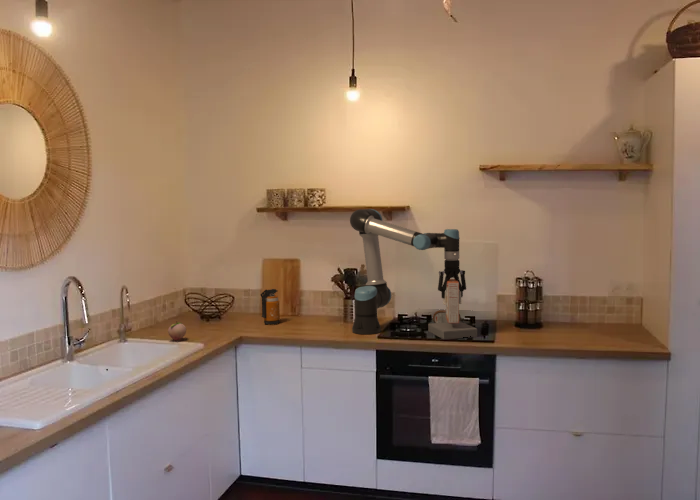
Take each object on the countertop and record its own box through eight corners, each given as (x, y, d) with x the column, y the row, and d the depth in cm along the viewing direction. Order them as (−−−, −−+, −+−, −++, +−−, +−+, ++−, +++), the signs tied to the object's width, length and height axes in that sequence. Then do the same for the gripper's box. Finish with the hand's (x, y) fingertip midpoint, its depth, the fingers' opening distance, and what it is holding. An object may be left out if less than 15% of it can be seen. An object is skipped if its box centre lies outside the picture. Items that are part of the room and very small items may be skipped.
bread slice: (460, 325, 322) (460, 309, 321) (461, 326, 319) (461, 311, 318) (432, 325, 323) (432, 310, 323) (433, 326, 320) (433, 311, 320)
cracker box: (445, 318, 307) (445, 278, 305) (456, 318, 306) (457, 278, 305) (447, 323, 293) (447, 282, 291) (459, 323, 292) (459, 282, 291)
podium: (444, 339, 288) (443, 331, 288) (428, 331, 308) (428, 323, 307) (477, 336, 293) (477, 328, 293) (459, 328, 312) (459, 321, 312)
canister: (283, 323, 335) (282, 288, 333) (267, 326, 327) (266, 290, 326) (273, 321, 341) (272, 287, 340) (257, 324, 334) (256, 289, 332)
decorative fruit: (181, 343, 290) (180, 323, 290) (166, 342, 292) (165, 322, 291) (189, 338, 300) (189, 319, 299) (174, 338, 301) (174, 319, 300)
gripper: (436, 261, 291) (436, 306, 293) (473, 259, 296) (473, 304, 298) (430, 259, 298) (430, 304, 300) (466, 258, 303) (467, 301, 305)
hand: (452, 304), depth 299 cm, fingers closed on cracker box, 7 cm apart
